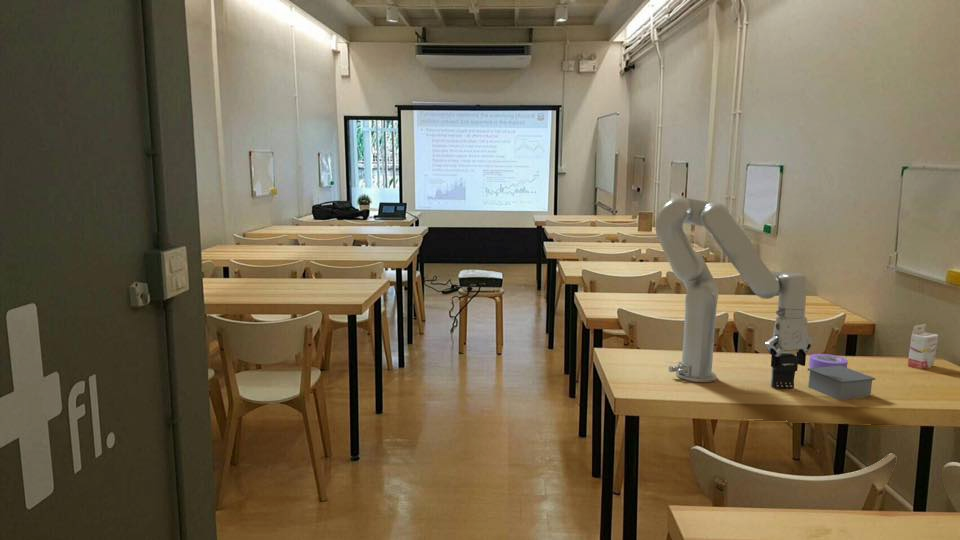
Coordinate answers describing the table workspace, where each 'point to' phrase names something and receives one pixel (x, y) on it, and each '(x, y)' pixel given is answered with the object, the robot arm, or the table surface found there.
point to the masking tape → (826, 361)
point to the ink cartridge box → (922, 348)
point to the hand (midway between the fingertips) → (788, 366)
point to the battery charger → (785, 372)
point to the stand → (840, 382)
